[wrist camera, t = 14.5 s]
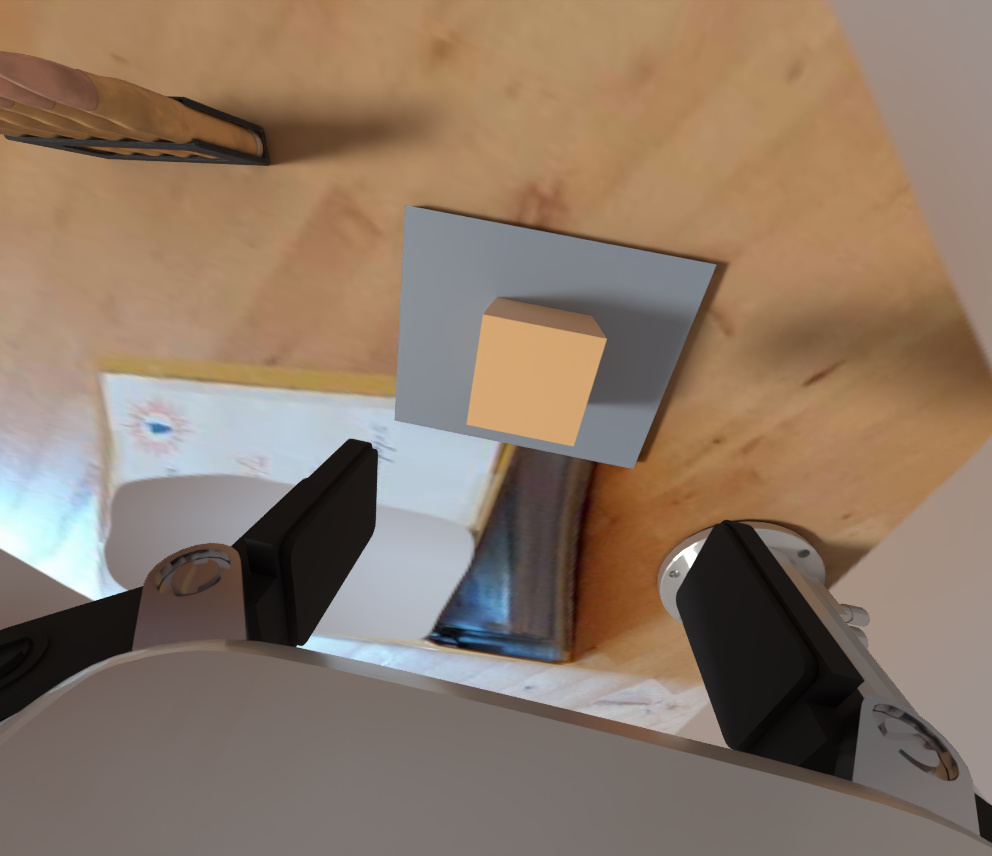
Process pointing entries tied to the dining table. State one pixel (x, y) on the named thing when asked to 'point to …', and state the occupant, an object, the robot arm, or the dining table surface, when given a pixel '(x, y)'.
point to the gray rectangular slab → (550, 283)
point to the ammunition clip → (116, 118)
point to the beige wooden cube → (534, 370)
